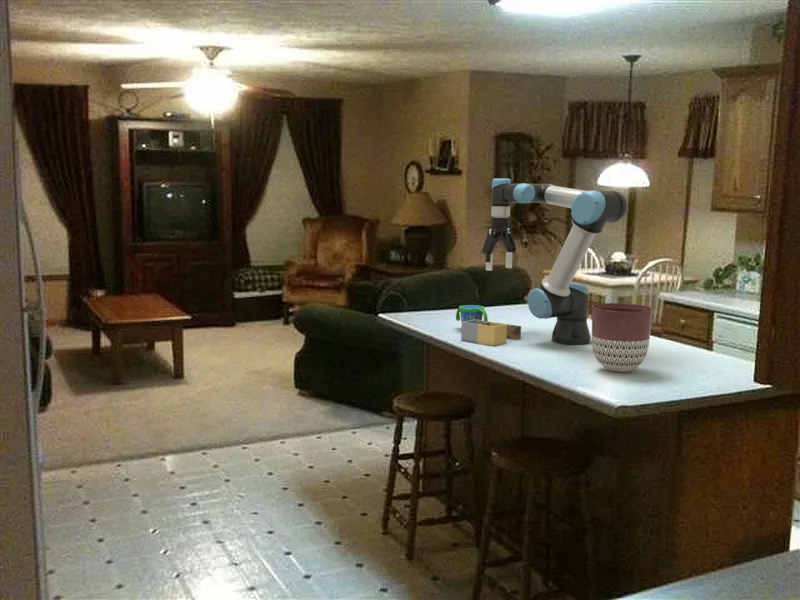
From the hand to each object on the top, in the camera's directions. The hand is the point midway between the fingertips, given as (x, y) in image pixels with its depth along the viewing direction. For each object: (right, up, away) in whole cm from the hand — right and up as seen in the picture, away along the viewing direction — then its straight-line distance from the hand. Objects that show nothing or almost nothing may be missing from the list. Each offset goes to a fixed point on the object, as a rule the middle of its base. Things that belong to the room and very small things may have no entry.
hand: (499, 269), depth 337 cm
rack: (+2, -28, -4) cm, 28 cm away
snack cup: (-10, -26, +10) cm, 30 cm away
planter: (+33, -36, -61) cm, 78 cm away
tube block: (-8, -29, -14) cm, 33 cm away
